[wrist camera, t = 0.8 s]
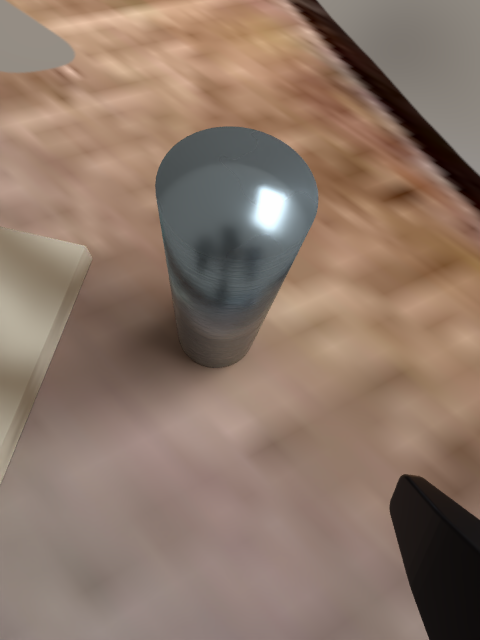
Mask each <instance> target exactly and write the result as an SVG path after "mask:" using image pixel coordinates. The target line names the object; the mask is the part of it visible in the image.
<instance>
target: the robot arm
mask: <svg viewBox="0 0 480 640" xmlns="http://www.w3.org/2000/svg"><path fill="white" fill-rule="evenodd" d="M390 515H391V518H392V522H393V526H394V529H395V533H396V537H397V541H398V544H399V548H400V552H401V555H402V559H403V563H404V567H405V570H406V574H407V577H408V581H409V584H410V587H411V590H412V593H413V596H414V599H415V602H416V604H417V607H418V610H419V613H420V615H421V618H422V621H423V623H424V626H425V629H426V632H427V634H428V637H429V640H480V520H479V519H478V518H476V517H475V516H474V515H472V514H471V513H470V512H468V511H467V510H466V509H464V508H463V507H462V506H460V505H459V504H458V503H456V502H455V501H454V500H452V499H451V498H449V497H448V496H447V495H445V494H444V493H443V492H441V491H440V490H439V489H437V488H436V487H435V486H433V485H432V484H431V483H429V482H428V481H427V480H425V479H424V478H422V477H420V476H415V475H408V474H404V475H402V476H401V477H400V478H399V480H398V483H397V485H396V488H395V491H394V493H393V496H392V498H391V501H390Z"/></svg>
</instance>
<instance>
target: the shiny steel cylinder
mask: <svg viewBox="0 0 480 640" xmlns="http://www.w3.org/2000/svg"><path fill="white" fill-rule="evenodd" d="M155 187H156V198H157V204H158V211H159V217H160V223H161V229H162V236H163V242H164V248H165V255H166V261H167V267H168V273H169V280H170V286H171V292H172V299H173V305H174V311H175V317H176V324H177V330H178V336H179V341H180V344H181V346H182V348H183V350H184V351H185V353H186V354H187V355H188V356H189V357H190V358H191V359H192V360H194V361H195V362H197V363H199V364H201V365H203V366H207V367H212V368H221V367H226V366H230V365H232V364H234V363H236V362H238V361H239V360H241V359H242V358H243V357H244V356H245V355H246V354H247V352H248V351H249V349H250V347H251V345H252V343H253V341H254V339H255V337H256V335H257V333H258V331H259V329H260V327H261V325H262V323H263V321H264V319H265V317H266V315H267V313H268V311H269V309H270V307H271V305H272V303H273V301H274V299H275V297H276V295H277V293H278V291H279V289H280V287H281V285H282V283H283V281H284V279H285V277H286V275H287V273H288V271H289V269H290V267H291V265H292V263H293V261H294V259H295V257H296V255H297V253H298V251H299V249H300V247H301V245H302V243H303V241H304V239H305V237H306V235H307V233H308V231H309V229H310V227H311V225H312V223H313V221H314V218H315V216H316V213H317V208H318V190H317V186H316V182H315V179H314V177H313V174H312V172H311V171H310V169H309V167H308V165H307V164H306V163H305V161H304V160H303V159H302V158H301V157H300V156H299V155H298V154H297V153H296V152H295V151H294V150H293V149H292V148H291V147H289V146H288V145H287V144H285V143H284V142H282V141H281V140H279V139H277V138H275V137H273V136H271V135H268V134H266V133H263V132H260V131H257V130H254V129H248V128H243V127H216V128H210V129H206V130H202V131H199V132H196V133H194V134H192V135H190V136H188V137H186V138H184V139H183V140H181V141H180V142H178V143H177V144H176V145H175V146H174V147H172V149H171V150H170V151H169V152H168V153H167V154H166V156H165V157H164V159H163V160H162V162H161V164H160V167H159V169H158V172H157V176H156V184H155Z"/></svg>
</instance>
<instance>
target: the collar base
mask: <svg viewBox="0 0 480 640" xmlns="http://www.w3.org/2000/svg"><path fill="white" fill-rule="evenodd" d="M91 261H92V257H91V255H90V253H89V251H88V249H87V247H86V246H83V245H79V244H74V243H70V242H66V241H61V240H57V239H53V238H48V237H44V236H39V235H35V234H31V233H26V232H22V231H18V230H13V229H9V228H5V227H0V484H1V482H2V480H3V477H4V475H5V472H6V470H7V467H8V465H9V462H10V460H11V457H12V455H13V453H14V450H15V448H16V445H17V443H18V440H19V438H20V435H21V433H22V430H23V428H24V426H25V423H26V421H27V418H28V416H29V413H30V411H31V408H32V406H33V403H34V401H35V398H36V396H37V394H38V391H39V389H40V386H41V384H42V381H43V379H44V376H45V374H46V371H47V369H48V367H49V364H50V362H51V359H52V357H53V354H54V352H55V349H56V347H57V344H58V342H59V340H60V337H61V335H62V332H63V330H64V327H65V325H66V322H67V320H68V317H69V315H70V313H71V310H72V308H73V305H74V303H75V300H76V298H77V295H78V293H79V290H80V288H81V286H82V283H83V281H84V278H85V276H86V273H87V271H88V268H89V266H90V263H91Z"/></svg>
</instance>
